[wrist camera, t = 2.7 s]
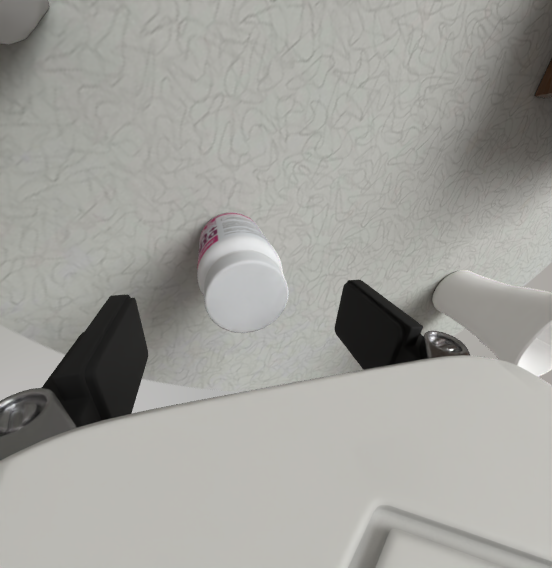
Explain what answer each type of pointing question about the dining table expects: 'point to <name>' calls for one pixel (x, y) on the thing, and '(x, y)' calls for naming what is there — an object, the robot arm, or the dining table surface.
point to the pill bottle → (240, 274)
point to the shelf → (546, 84)
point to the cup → (501, 317)
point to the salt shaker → (20, 18)
